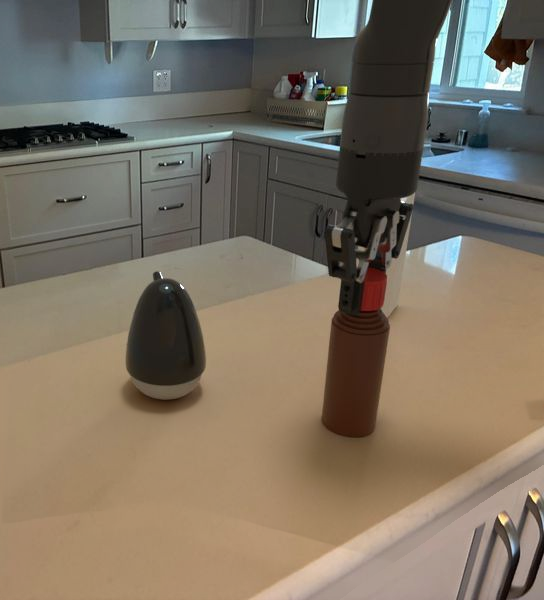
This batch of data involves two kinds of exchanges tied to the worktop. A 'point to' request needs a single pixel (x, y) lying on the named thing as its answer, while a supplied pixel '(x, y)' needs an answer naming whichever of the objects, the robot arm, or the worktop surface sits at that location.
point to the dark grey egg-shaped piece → (165, 341)
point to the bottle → (355, 372)
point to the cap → (374, 290)
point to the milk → (394, 270)
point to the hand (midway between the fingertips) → (360, 305)
